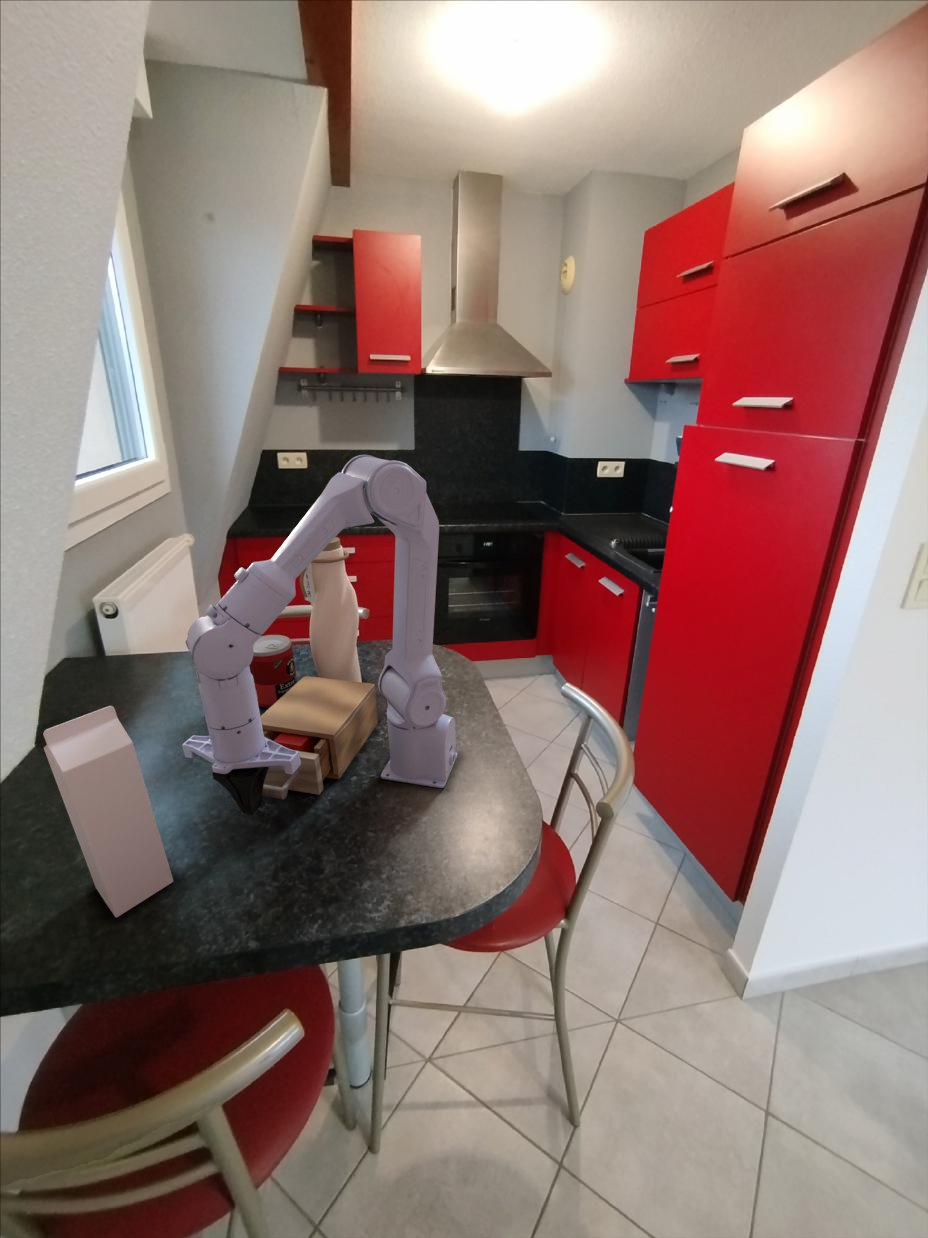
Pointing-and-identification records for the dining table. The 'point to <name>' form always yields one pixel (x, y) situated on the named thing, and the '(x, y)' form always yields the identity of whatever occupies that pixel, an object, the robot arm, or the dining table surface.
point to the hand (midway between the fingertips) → (252, 808)
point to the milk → (108, 807)
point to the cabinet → (327, 716)
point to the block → (297, 742)
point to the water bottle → (332, 614)
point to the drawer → (299, 771)
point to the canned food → (272, 668)
